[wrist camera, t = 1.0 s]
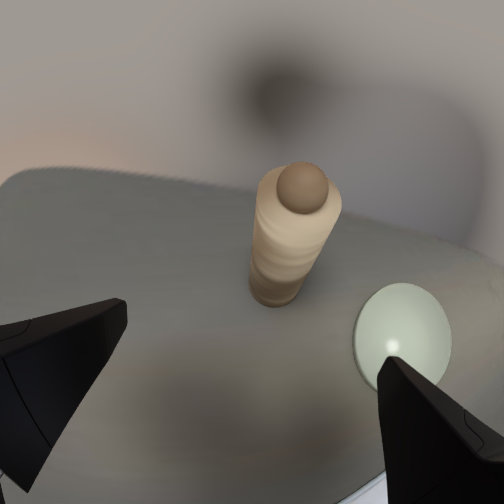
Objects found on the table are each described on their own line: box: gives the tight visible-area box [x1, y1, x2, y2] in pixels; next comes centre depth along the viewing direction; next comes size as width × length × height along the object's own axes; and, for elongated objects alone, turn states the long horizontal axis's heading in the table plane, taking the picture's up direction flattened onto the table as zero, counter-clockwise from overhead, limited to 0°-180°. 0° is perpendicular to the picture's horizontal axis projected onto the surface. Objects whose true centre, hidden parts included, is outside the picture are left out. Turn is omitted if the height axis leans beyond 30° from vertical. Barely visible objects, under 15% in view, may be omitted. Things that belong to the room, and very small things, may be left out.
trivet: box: [353, 283, 452, 392], centre depth 22 cm, size 11×11×1 cm
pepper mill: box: [249, 162, 342, 307], centre depth 18 cm, size 4×4×14 cm
